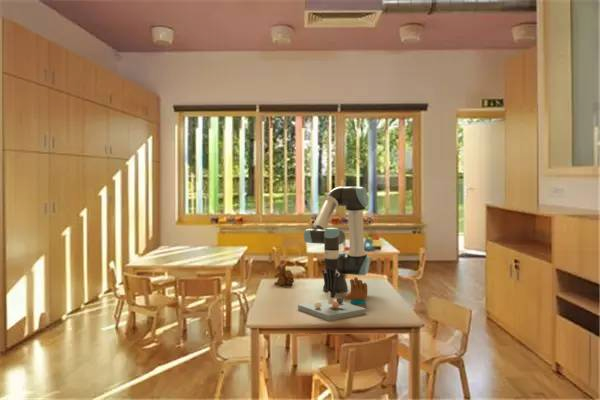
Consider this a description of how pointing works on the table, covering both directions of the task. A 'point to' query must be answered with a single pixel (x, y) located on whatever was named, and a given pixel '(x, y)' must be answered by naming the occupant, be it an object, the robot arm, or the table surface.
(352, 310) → the grey flat plate
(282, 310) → the table surface
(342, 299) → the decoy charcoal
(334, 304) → the ball
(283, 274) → the stuffed squirrel
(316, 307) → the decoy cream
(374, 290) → the table surface
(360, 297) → the toy
